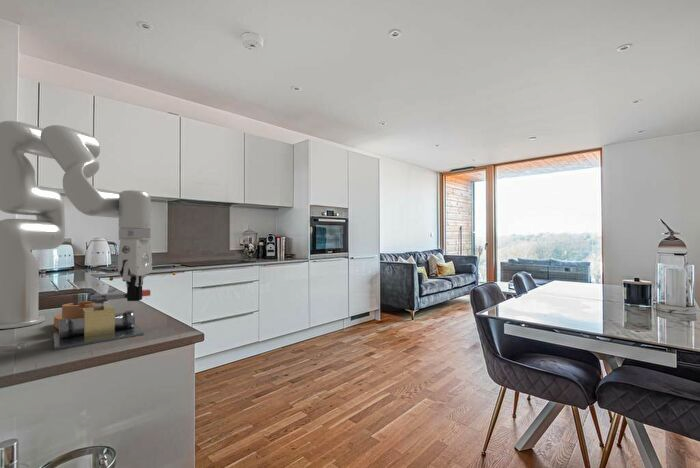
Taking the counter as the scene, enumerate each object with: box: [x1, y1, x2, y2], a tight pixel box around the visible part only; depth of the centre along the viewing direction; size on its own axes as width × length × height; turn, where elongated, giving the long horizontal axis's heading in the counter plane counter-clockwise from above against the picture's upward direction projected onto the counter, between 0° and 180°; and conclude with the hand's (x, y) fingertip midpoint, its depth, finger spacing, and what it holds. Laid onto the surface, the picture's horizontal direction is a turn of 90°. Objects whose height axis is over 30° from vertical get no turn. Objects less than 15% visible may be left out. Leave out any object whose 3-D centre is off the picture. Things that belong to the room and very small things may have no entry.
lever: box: [89, 289, 151, 302], centre depth 93 cm, size 14×4×2 cm, turn 134°
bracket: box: [53, 300, 93, 330], centre depth 97 cm, size 18×8×7 cm, turn 51°
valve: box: [53, 301, 145, 351], centre depth 89 cm, size 15×18×9 cm
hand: (134, 300), depth 93 cm, fingers closed
